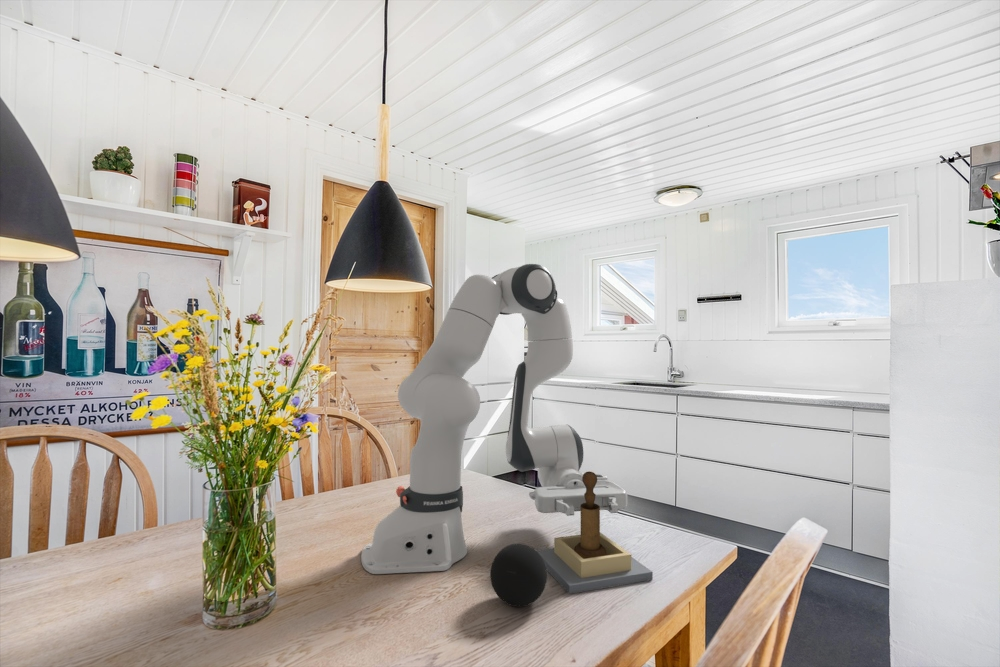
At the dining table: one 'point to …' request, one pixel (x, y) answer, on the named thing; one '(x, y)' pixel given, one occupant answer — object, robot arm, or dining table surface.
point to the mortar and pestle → (590, 522)
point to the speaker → (518, 575)
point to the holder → (592, 566)
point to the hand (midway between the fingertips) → (593, 510)
